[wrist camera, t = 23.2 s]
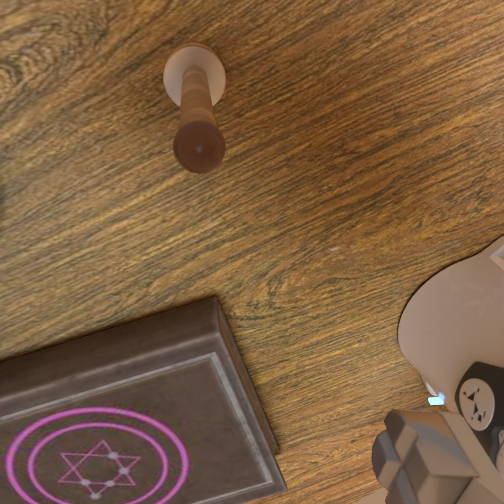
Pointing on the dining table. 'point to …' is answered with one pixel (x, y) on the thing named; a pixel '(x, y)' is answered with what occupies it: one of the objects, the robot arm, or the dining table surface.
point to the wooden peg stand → (196, 105)
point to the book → (137, 418)
